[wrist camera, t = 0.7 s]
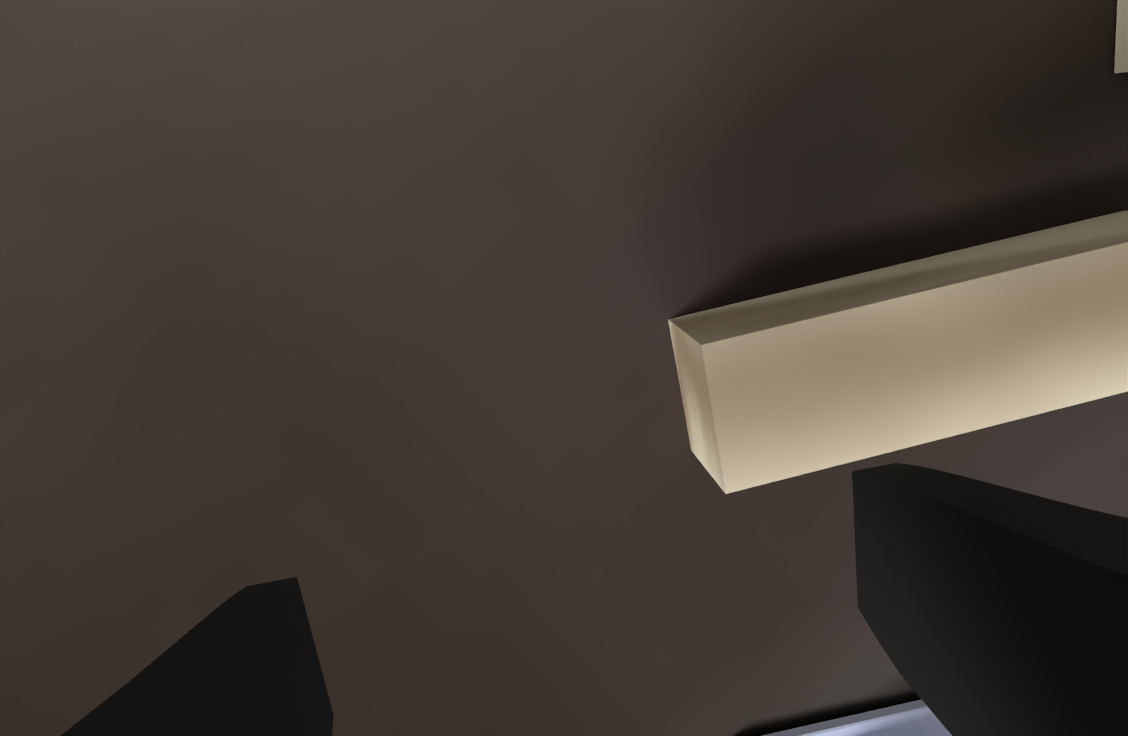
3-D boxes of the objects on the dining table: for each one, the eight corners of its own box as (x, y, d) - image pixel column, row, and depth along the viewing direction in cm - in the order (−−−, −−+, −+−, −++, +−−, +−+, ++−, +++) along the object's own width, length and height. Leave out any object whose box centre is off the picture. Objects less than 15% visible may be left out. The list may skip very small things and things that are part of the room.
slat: (1115, 339, 21) (1218, 368, 18) (687, 446, 20) (725, 493, 17) (1114, 209, 20) (1223, 218, 17) (664, 316, 19) (700, 345, 16)
